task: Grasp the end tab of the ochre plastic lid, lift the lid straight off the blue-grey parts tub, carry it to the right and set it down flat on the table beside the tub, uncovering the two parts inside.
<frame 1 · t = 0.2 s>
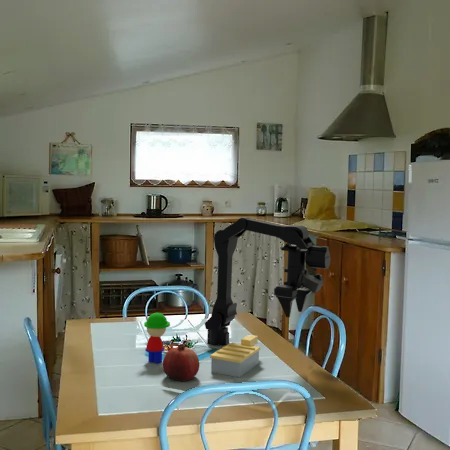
hand: (294, 314, 182), 14 cm above the table, fingers open, 9 cm apart
tub: (235, 370, 171), on the table
lid: (235, 353, 170), point 5 cm above the table, touching tub
part block: (239, 364, 173), point 1 cm above the table, touching tub
part cylinder: (231, 370, 168), point 1 cm above the table, touching tub
fruit: (180, 380, 162), on the table
toy: (156, 361, 178), on the table
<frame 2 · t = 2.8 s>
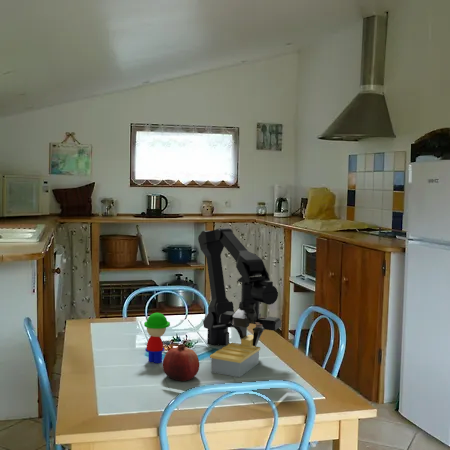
hand: (249, 347, 179), 4 cm above the table, fingers closed on lid, 3 cm apart
lid: (235, 353, 170), point 5 cm above the table, touching gripper, tub
everything else where it was.
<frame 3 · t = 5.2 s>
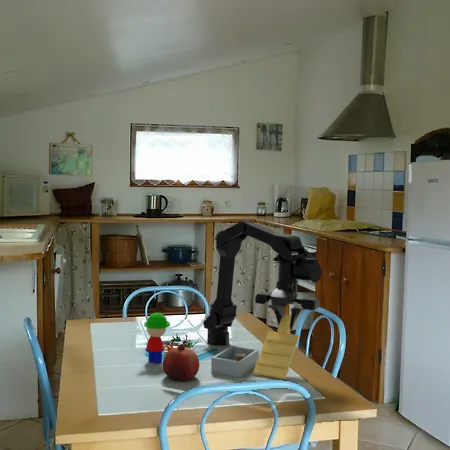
hand: (286, 328, 174), 12 cm above the table, fingers closed on lid, 3 cm apart
lid: (276, 355, 167), point 6 cm above the table, tilted 40°, touching gripper
everything else where it was.
when the fingers open (1 cm above the table, at t = 7.7 s): lid stays where it is, on the table.
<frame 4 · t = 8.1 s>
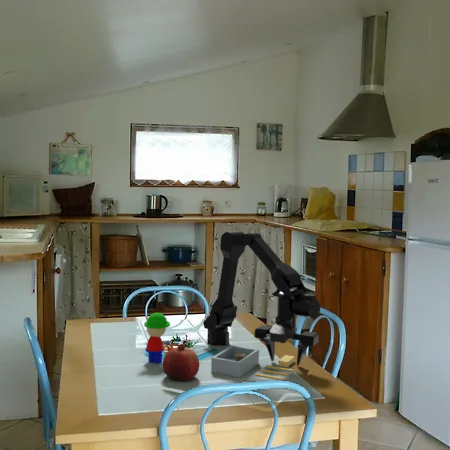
hand: (285, 363, 174), 1 cm above the table, fingers open, 8 cm apart
lid: (274, 376, 167), on the table
everything else where it was.
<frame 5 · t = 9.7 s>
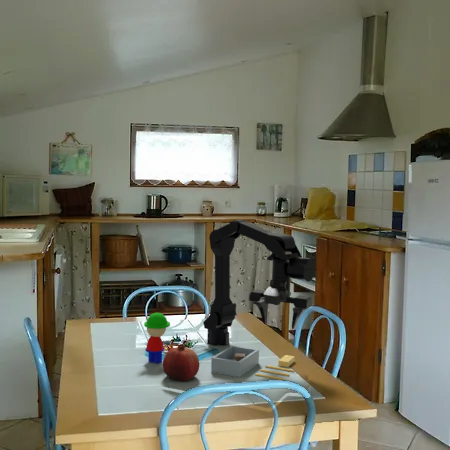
hand: (278, 326, 177), 12 cm above the table, fingers open, 9 cm apart
nothing on the table moved.
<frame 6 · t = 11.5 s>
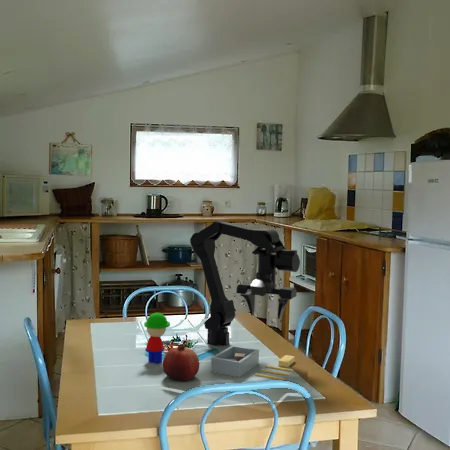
hand: (265, 316, 185), 13 cm above the table, fingers open, 9 cm apart
nothing on the table moved.
at the end: lid inside the target area (1.2 cm from its centre), on the table; lid tilted 1°; the gripper is holding nothing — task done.
